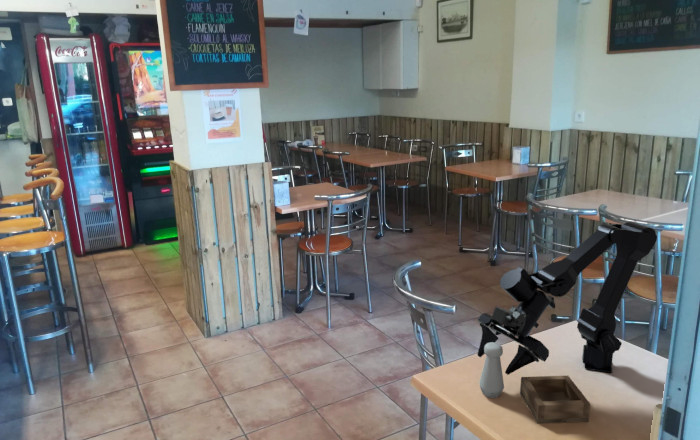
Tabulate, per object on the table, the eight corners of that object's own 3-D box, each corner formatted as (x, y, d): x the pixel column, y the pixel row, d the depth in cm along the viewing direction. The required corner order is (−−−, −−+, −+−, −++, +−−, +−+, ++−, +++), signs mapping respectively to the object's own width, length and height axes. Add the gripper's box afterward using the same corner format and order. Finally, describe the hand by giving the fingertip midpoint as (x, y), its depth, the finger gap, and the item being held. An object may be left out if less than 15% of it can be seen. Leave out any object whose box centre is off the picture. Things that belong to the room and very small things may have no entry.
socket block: (566, 391, 126) (568, 375, 125) (588, 421, 115) (590, 403, 114) (520, 393, 126) (521, 377, 125) (537, 423, 115) (538, 405, 114)
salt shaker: (504, 401, 123) (507, 352, 119) (479, 399, 124) (481, 350, 121) (502, 387, 128) (505, 340, 125) (478, 385, 130) (480, 338, 126)
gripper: (484, 282, 130) (448, 333, 128) (544, 309, 114) (504, 367, 112) (505, 304, 136) (471, 353, 134) (565, 333, 120) (528, 389, 118)
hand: (492, 364), depth 124 cm, fingers open, 9 cm apart
